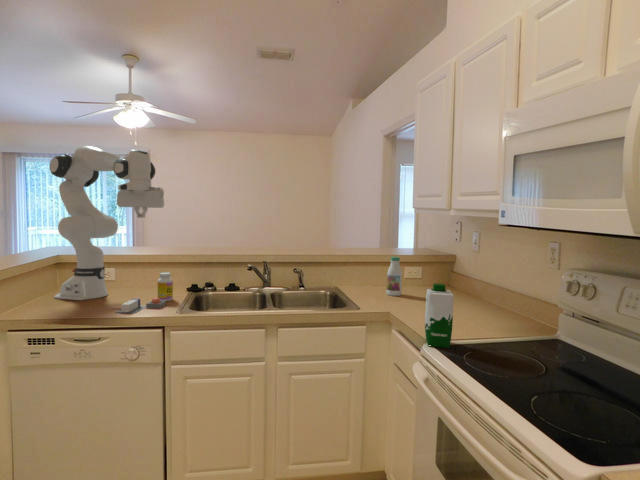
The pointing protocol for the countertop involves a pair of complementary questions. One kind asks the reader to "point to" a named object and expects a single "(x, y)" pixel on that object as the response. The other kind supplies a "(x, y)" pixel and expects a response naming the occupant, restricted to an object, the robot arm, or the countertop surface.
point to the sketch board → (132, 310)
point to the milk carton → (439, 316)
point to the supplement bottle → (165, 287)
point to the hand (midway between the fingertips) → (141, 217)
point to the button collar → (155, 304)
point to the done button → (156, 300)
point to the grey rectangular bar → (131, 305)
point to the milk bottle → (394, 278)
